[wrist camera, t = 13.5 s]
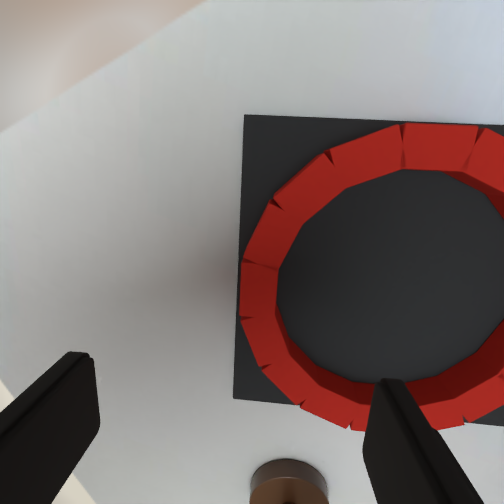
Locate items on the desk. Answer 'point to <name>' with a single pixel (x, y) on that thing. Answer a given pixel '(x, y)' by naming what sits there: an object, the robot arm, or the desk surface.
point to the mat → (373, 263)
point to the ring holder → (288, 484)
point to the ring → (314, 199)
